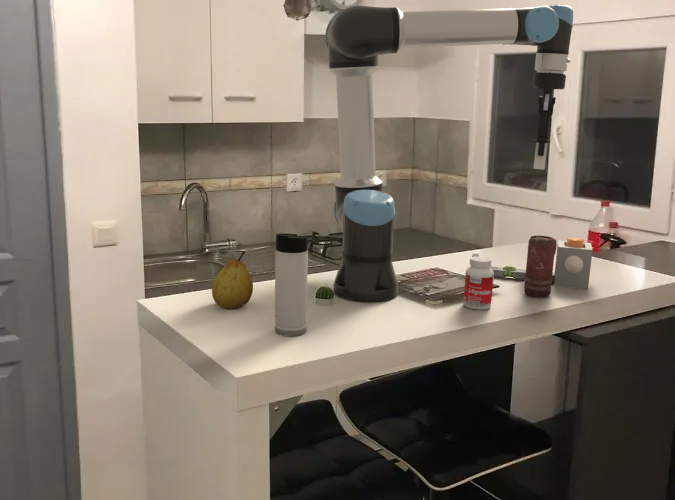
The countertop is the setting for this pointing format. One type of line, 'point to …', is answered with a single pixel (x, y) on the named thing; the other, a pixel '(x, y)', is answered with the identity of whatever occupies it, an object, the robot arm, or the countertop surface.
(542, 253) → the can
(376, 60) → the robot arm
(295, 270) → the travel mug
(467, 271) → the pill bottle
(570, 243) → the plunger
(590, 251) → the grey box
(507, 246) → the countertop surface
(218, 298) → the fruit
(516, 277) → the rail
